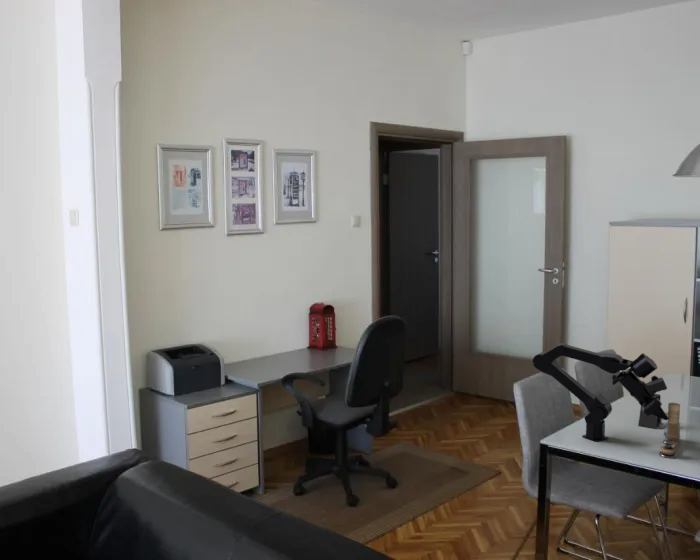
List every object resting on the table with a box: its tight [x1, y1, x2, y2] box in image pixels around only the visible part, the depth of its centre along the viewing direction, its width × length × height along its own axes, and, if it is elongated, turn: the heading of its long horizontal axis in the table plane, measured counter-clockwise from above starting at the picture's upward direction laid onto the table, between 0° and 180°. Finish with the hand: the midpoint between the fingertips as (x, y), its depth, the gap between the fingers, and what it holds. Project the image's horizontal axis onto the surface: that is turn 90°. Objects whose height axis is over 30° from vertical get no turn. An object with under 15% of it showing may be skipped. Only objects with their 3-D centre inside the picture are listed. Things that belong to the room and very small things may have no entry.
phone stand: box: [637, 393, 663, 430], centre depth 273 cm, size 9×6×12 cm, turn 141°
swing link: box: [659, 402, 681, 456], centre depth 245 cm, size 18×5×14 cm, turn 148°
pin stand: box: [658, 439, 678, 459], centre depth 240 cm, size 6×6×5 cm
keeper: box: [663, 420, 681, 441], centre depth 254 cm, size 7×4×6 cm, turn 150°
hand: (667, 419), depth 248 cm, fingers closed, pressing on swing link
